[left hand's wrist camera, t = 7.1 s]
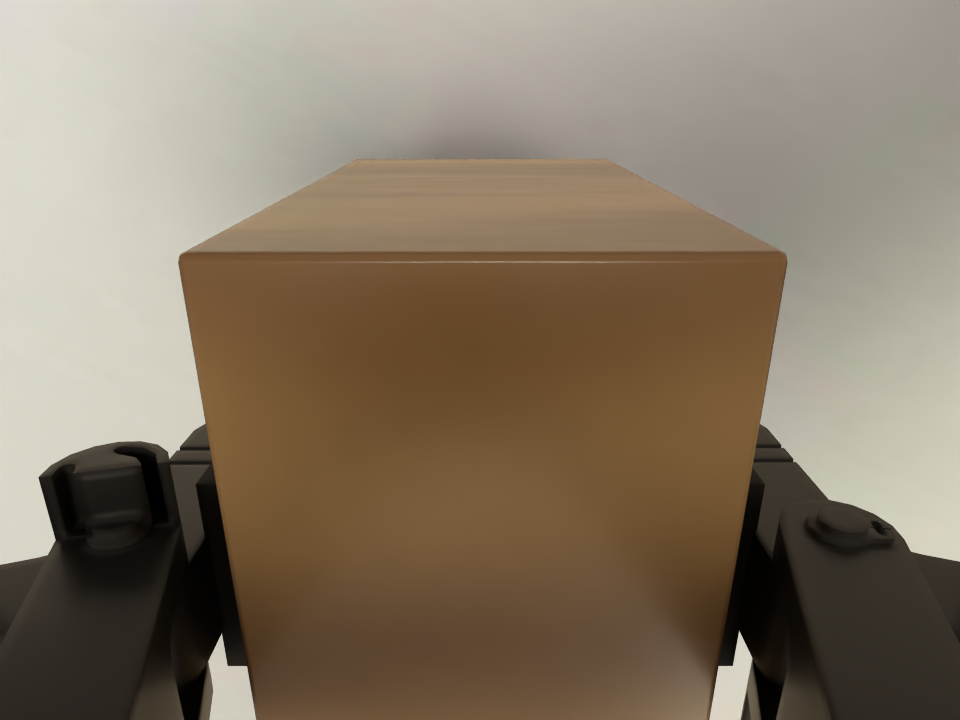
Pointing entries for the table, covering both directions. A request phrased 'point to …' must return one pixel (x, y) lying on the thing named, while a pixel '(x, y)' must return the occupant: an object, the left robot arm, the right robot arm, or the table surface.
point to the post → (482, 438)
